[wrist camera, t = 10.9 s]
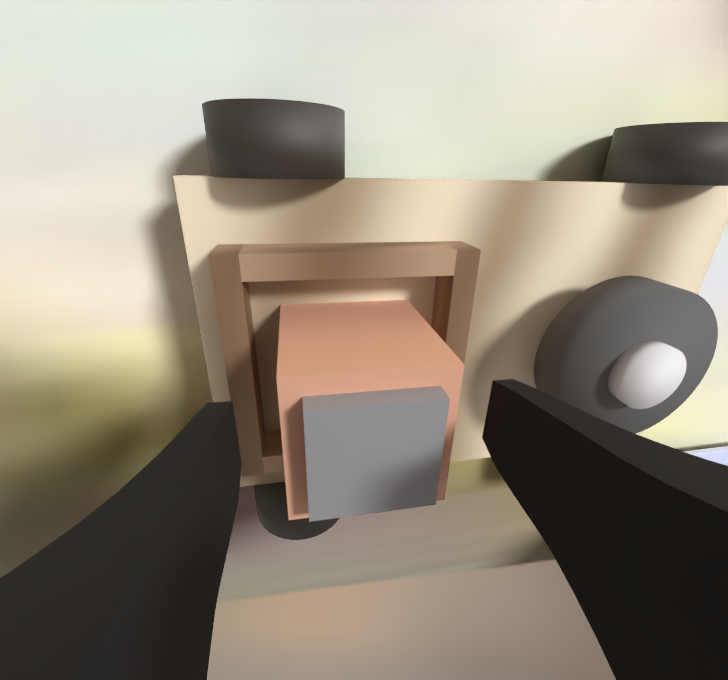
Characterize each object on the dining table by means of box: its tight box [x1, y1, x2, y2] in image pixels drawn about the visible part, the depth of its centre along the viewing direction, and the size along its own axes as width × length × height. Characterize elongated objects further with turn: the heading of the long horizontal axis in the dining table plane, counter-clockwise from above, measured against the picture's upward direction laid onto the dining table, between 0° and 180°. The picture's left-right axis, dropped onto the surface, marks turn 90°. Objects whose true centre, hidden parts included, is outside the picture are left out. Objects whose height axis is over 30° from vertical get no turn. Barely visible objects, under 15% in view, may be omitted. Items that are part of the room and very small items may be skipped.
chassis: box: [173, 99, 728, 540], centre depth 15 cm, size 20×16×4 cm
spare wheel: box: [534, 275, 718, 434], centre depth 14 cm, size 6×6×2 cm
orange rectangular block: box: [276, 300, 464, 522], centre depth 12 cm, size 4×4×6 cm
